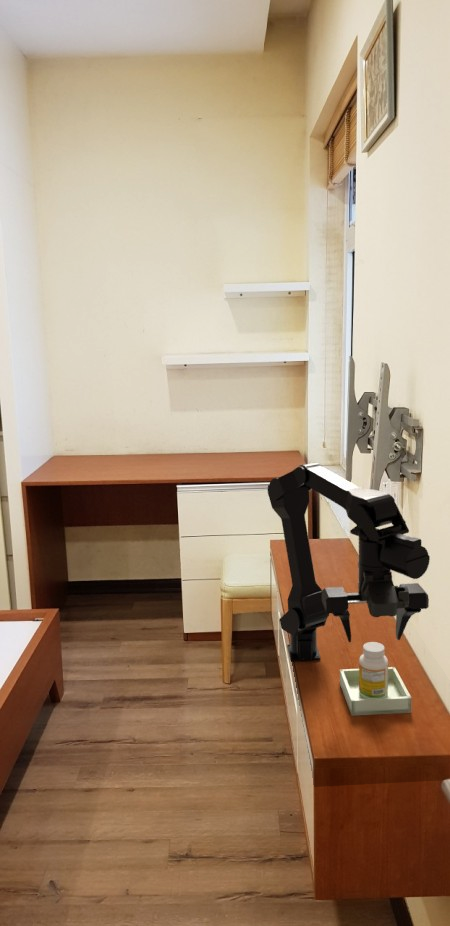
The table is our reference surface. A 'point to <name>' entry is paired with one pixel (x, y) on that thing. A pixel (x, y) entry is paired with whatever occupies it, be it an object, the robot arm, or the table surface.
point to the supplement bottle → (373, 671)
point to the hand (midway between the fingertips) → (373, 640)
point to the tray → (391, 704)
